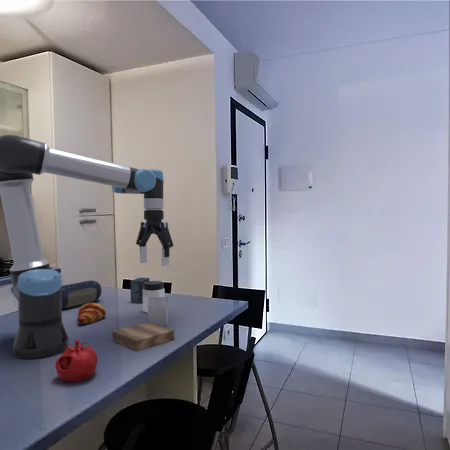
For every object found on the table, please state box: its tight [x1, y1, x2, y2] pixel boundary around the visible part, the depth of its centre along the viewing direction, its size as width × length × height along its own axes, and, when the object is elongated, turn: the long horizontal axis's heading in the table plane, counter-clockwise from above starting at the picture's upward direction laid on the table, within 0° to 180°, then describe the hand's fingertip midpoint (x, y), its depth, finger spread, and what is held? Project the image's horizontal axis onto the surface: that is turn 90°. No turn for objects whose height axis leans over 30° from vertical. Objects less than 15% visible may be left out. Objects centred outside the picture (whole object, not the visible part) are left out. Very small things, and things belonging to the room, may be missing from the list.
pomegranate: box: [54, 339, 98, 383], centre depth 95 cm, size 10×10×9 cm
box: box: [130, 277, 150, 305], centre depth 176 cm, size 8×6×11 cm
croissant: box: [77, 302, 107, 325], centre depth 148 cm, size 21×10×8 cm, turn 178°
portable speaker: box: [61, 280, 102, 310], centre depth 170 cm, size 25×10×10 cm, turn 149°
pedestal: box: [112, 321, 175, 352], centre depth 122 cm, size 14×14×3 cm
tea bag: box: [147, 296, 170, 327], centre depth 140 cm, size 4×7×10 cm, turn 86°
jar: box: [142, 280, 166, 314], centre depth 159 cm, size 9×8×12 cm
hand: (154, 264), depth 148 cm, fingers open, 13 cm apart
